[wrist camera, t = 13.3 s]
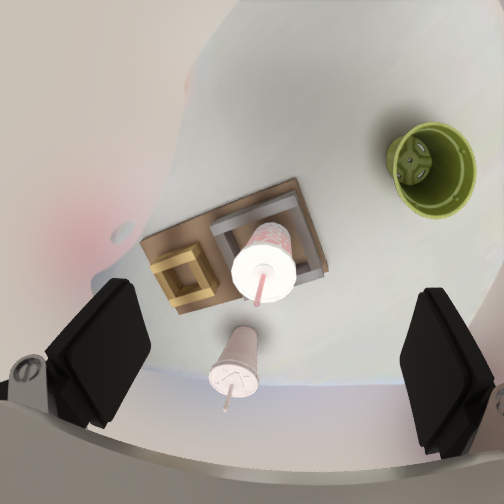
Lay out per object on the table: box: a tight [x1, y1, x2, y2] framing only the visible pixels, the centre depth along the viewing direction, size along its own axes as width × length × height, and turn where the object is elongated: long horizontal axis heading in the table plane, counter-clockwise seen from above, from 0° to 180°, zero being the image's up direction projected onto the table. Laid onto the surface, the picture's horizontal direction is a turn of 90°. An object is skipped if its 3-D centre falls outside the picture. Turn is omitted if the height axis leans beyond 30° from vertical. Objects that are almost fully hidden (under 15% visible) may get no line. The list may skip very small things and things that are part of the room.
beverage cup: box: [231, 222, 296, 307], centre depth 30 cm, size 6×6×14 cm
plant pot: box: [386, 122, 476, 219], centre depth 27 cm, size 9×9×9 cm
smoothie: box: [209, 326, 259, 412], centre depth 38 cm, size 6×6×14 cm
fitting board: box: [139, 178, 329, 315], centre depth 37 cm, size 22×12×4 cm, turn 113°
